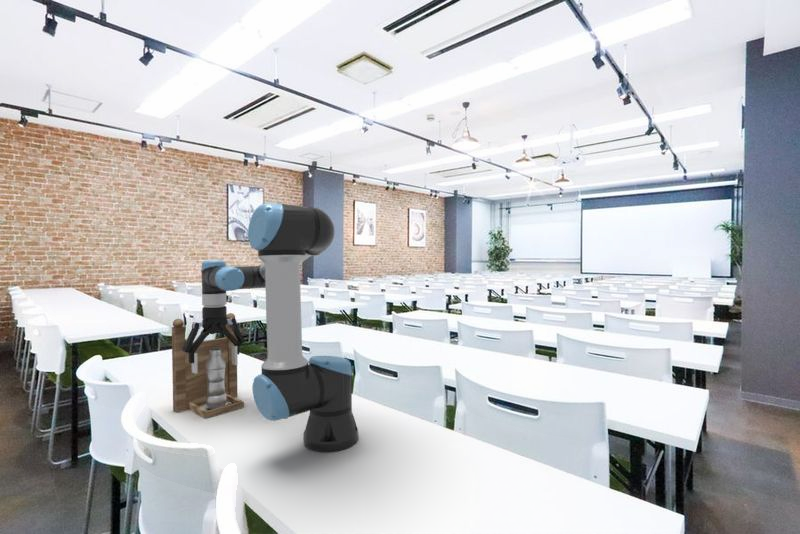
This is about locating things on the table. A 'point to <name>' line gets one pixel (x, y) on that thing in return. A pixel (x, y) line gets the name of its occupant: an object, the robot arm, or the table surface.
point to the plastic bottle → (215, 379)
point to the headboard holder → (201, 373)
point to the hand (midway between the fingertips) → (215, 368)
